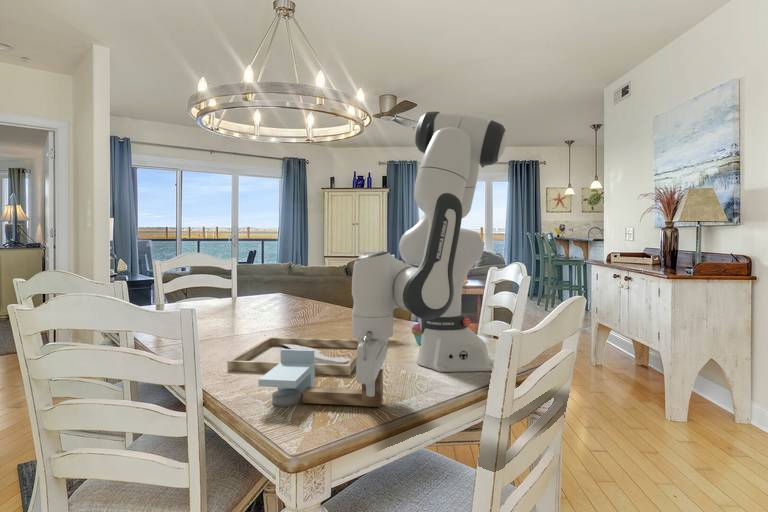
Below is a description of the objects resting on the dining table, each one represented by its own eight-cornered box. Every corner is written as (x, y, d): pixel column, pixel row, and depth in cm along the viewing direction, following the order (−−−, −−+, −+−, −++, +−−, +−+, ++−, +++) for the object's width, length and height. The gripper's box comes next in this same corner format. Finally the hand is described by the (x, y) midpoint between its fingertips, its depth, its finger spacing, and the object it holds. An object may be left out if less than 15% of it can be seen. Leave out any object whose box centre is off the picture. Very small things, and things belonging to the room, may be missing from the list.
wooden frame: (368, 347, 148) (368, 340, 148) (349, 375, 118) (349, 365, 118) (269, 344, 152) (269, 337, 152) (227, 370, 122) (227, 361, 122)
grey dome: (302, 397, 102) (302, 389, 102) (296, 408, 96) (296, 398, 96) (276, 397, 102) (276, 388, 102) (268, 407, 96) (268, 398, 96)
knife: (356, 369, 125) (356, 360, 125) (332, 374, 120) (332, 364, 120) (295, 344, 154) (295, 337, 154) (274, 347, 150) (274, 339, 150)
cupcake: (406, 343, 154) (406, 308, 154) (422, 339, 160) (422, 306, 160) (425, 347, 148) (425, 311, 148) (441, 343, 154) (441, 308, 154)
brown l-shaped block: (382, 400, 98) (382, 369, 97) (380, 406, 94) (380, 373, 94) (307, 397, 100) (307, 366, 100) (302, 403, 96) (302, 371, 96)
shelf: (314, 389, 107) (314, 349, 106) (295, 411, 93) (295, 366, 93) (282, 387, 108) (282, 348, 107) (258, 409, 94) (258, 365, 94)
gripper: (380, 338, 85) (380, 410, 85) (392, 319, 105) (392, 377, 106) (348, 337, 86) (348, 408, 86) (365, 318, 106) (365, 376, 107)
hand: (372, 391), depth 96 cm, fingers closed on brown l-shaped block, 3 cm apart
